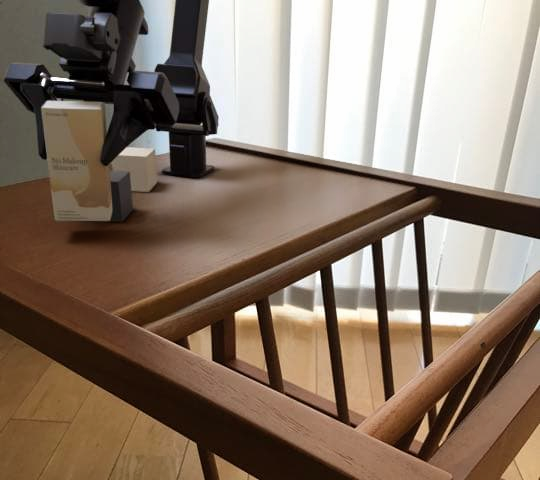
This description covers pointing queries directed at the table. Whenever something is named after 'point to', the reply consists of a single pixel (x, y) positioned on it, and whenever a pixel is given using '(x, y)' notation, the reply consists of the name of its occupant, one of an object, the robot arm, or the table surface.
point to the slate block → (120, 195)
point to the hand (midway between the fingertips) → (72, 160)
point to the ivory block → (138, 167)
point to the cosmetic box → (77, 160)
